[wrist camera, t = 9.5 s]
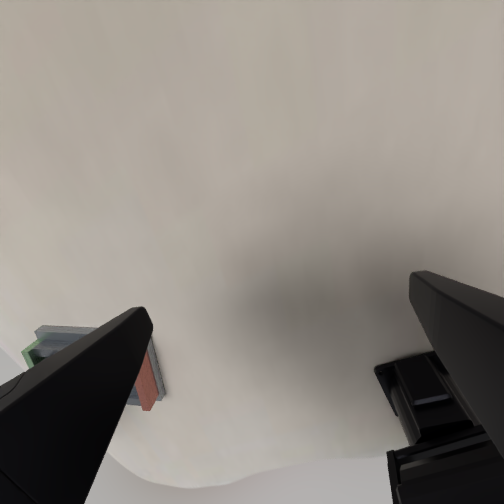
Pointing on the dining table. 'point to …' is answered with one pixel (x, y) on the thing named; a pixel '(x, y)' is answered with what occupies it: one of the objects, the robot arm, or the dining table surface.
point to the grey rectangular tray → (60, 337)
